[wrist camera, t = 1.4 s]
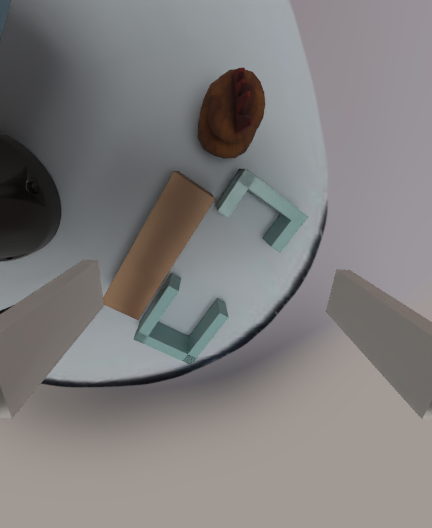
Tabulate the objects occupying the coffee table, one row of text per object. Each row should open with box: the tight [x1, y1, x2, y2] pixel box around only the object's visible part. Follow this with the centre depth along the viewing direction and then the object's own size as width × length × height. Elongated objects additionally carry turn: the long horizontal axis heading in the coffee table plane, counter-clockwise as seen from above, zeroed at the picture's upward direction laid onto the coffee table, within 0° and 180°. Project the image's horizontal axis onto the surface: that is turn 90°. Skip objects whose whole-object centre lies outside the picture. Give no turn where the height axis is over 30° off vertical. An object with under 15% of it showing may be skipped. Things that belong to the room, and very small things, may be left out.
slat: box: [103, 171, 215, 320], centre depth 29 cm, size 5×18×6 cm, turn 146°
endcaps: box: [134, 169, 308, 364], centre depth 32 cm, size 10×27×4 cm, turn 146°
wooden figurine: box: [198, 68, 265, 158], centre depth 20 cm, size 7×6×15 cm
